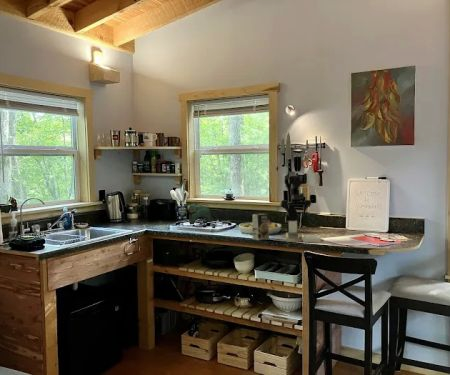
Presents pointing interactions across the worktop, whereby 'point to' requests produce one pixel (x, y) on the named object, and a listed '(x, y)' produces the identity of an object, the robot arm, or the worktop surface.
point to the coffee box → (260, 226)
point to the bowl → (248, 227)
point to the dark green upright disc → (199, 213)
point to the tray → (311, 238)
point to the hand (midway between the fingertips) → (296, 216)
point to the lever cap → (292, 226)
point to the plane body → (292, 237)
